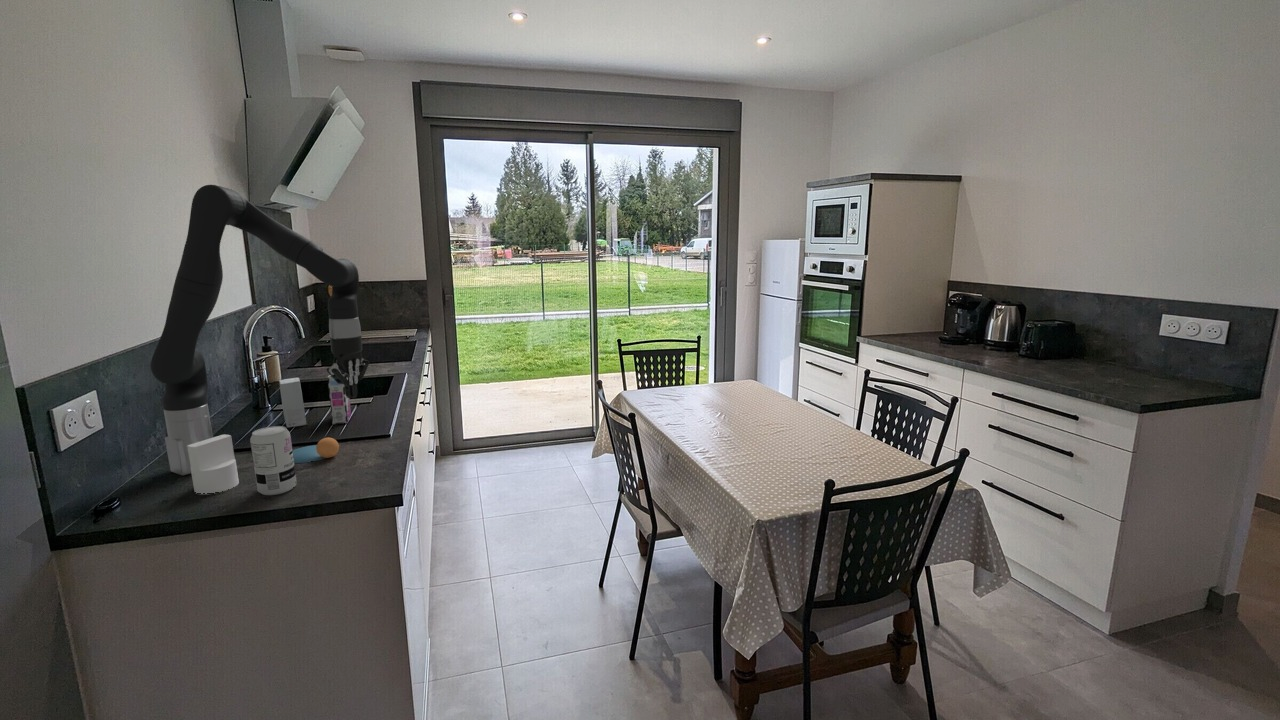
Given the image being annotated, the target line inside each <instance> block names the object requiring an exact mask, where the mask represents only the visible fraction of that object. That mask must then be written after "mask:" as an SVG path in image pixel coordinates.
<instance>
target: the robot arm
mask: <svg viewBox="0 0 1280 720" xmlns="http://www.w3.org/2000/svg"><path fill="white" fill-rule="evenodd" d="M189 215H190V216H189V223H188V230H187V235H186V240H185V244H184V248H183V250H182V255H181V260H180V263H179V266H178V270H177V272H176V276H175V280H174V283H173V288H172V292H171V298H170V300H169V305H168V309H167V314H166V317H165V318H166V319H165V323H164V328H163V330H162V333H161V335H160V338H159V341H158V342H157V345H156V348H155V350H154V352H153V354H152V356H151V359H150V371H151V373H152V375H153V377H154V378H155V380H157V381H159V382H160V383H163V384H165V391H164V393H163V396H162V399H161V402H162V408H163V413H164V415H163V416H164V420H165V426H166V432H167V436H165V437H164V441H165V447H166V452H167V459H168V464H169V469H170V472H172V473H174V474H177V475H180V476H185V475H190V474H191V465H190V459H189V453H188V447H187V445H190V444H194V443H197V442H200V441H203V440H207V439H210V438H213V437H214V435H213V429H212V423H211V416H210V410H209V405H208V393H209V384H208V377H207V368H206V361H205V358H204V356H203V354H202V352H201V351H200V350H199V349H198V348H197V342H198V339H199V336H200V334H201V331H202V330H203V327H204V326H205V324H206V322H207V321H208V319H209V317H210V316H211V314H212V312H213V310H214V308H215V307H216V304H217V301H218V299H219V295H220V292H221V288H222V285H223V279H224V278H223V277H224V276H223V275H224V274H223V273H224V271H223V264H222V258H221V248H220V247H221V243H222V242H221V241H222V238H223V234H224V231H225V229H226V226H231V227H234V228H236V229H239V230H241V231H244V232H246V233H249V234H251V235H253V236H254V237H256V238H258V239H260V240H261V241H262V242H263V243H264V244H266V245H267V246H268V247H269V248H271V249H272V250H273V251H274V252H276V253H277V254H279V255H280V256H282V257H284V258H285V259H287V260H289V261H290V262H292V263H294V264H296V265H298V266H300V267H302V268H303V269H305V270H307V271H308V273H309V274H311V275H312V276H313V277H315V278H316V279H317V280H319V281H321V282H322V283H323V284H325V285H327V286H330V287H332V288H331V290H332V291H331V295H330V297H329V298H328V299H327V311H328V330H329V331H328V333H329V342H330V350H331V353H332V354H333V356H334V357H333V361H332V365H331V367H327V368H326V372H327V373H328V375H329V374H330V375H331V376H332V378H333V379H334V380H335V381H336V382H337V383H338V384H344V386H345V395H346V396H347V398H350V399H355V398H357V397H358V393H359V392H358V382H359V381H360V380H361V381H362V380H363V378H364V376H365V375H366V372H367V369H368V367H369V365H370V360H368V359H365V358H363V355H362V353H361V352H362V351H363V350H364V349H363V341H362V330H361V329H362V328H361V327H362V326H361V324H360V323H361V322H360V319H359V317H360V316H359V310H358V309H359V308H358V294H359V283H360V277H359V276H360V275H359V270H358V268H357V265H356V264H355V263H354V262H353V261H352V260H350V259H347V258H336V257H333V256H331V255H329V254H328V253H326V252H325V251H323V250H324V249H323V248H322V247H321V246H320V245H319V244H317V243H316V242H314V241H313V240H310V239H309V238H307V237H306V236H304V235H302V234H300V233H298V232H297V231H295V230H292V229H291V228H289V227H288V226H285V225H284V224H282V223H280V222H278V221H277V220H275V219H274V218H272V217H271V216H269V215H268V214H266V213H264V212H263V211H262V210H260V209H259V208H258V207H257V206H255V205H254V204H253V203H252V202H250V201H249V200H248V199H247V198H246V197H244V196H243V195H242V194H240V193H239V191H236V190H233V189H230V188H229V187H228V188H227V187H223V186H220V185H216V184H206V185H203V186H201V187H200V188H198V189H197V190H196V192H195V193H194V196H193V198H192V201H191V206H190V214H189ZM191 475H192V474H191Z"/></svg>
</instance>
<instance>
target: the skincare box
mask: <svg viewBox="0 0 1280 720" xmlns="http://www.w3.org/2000/svg"><path fill="white" fill-rule="evenodd" d="M278 382H279V388H280V389H279V390H280V392H279V393H280V398H281V405H282V410H283V411H282V413H283V416H284V417H283V419H284V422H285V425H286V426H285V427H286V428H292V427H293V428H294V427H301V426H306V425H308V423H307V418H306V413H305V406H304V399H303V392H302V387H301V386H302V385H301V381H300V378H299V377H291V378H285V379H279V381H278Z"/></svg>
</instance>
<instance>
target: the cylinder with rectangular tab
mask: <svg viewBox="0 0 1280 720" xmlns="http://www.w3.org/2000/svg"><path fill="white" fill-rule="evenodd" d="M232 438H233V437H232V435H230V434H220V435H218V436H213V438H210V439H207V440H203V441H200V442H197V443H194V444H190V445H187V447H188V453H189V459H190V465H191V479H192V485H193V491H194V493H195V492H196V493H195V494H197V493H201V494H200V495H208V494H207V493H214V494H216V493H215V492H219V493H222V491H223V492H226V491H229V490H231V489H234V488H236V487H237V486H238V485H239V483H240V480H239V474H238V467H237V461H236V457H235V451H234V446H233V440H232ZM233 487H234V488H233ZM228 489H229V490H228ZM203 493H205V494H203Z"/></svg>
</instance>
